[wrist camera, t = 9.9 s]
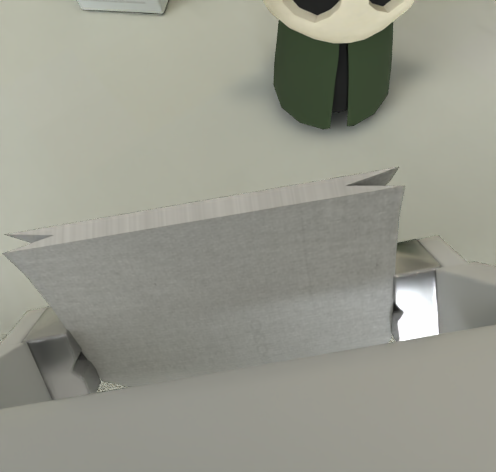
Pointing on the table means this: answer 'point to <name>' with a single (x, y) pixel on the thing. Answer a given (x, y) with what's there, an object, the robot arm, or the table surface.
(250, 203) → the white printed carton
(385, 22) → the character mug
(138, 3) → the cosmetic box
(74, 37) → the table surface
